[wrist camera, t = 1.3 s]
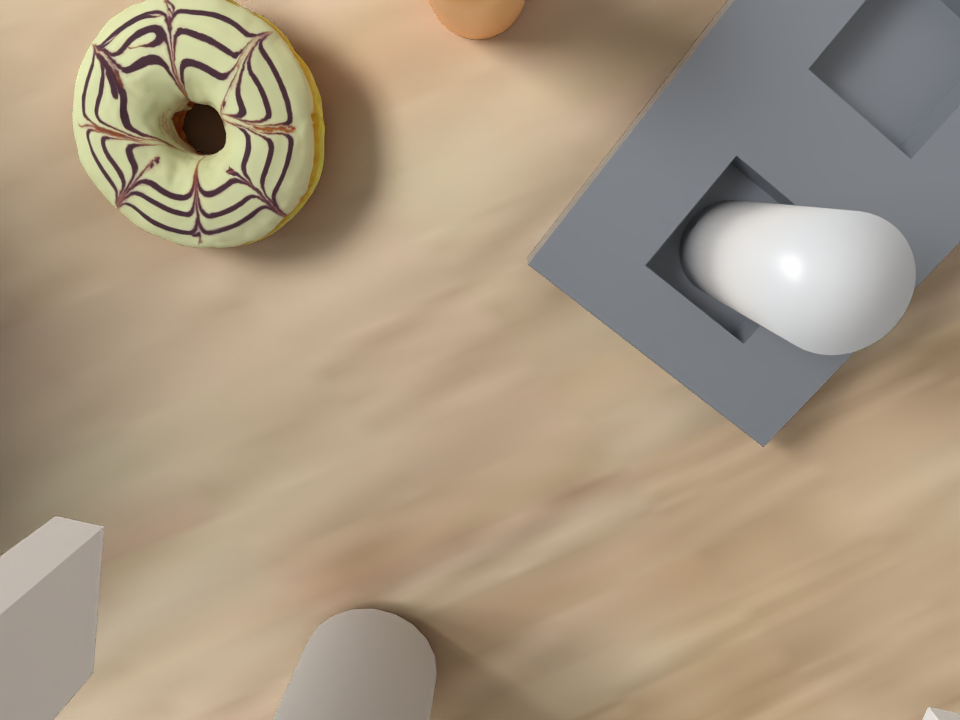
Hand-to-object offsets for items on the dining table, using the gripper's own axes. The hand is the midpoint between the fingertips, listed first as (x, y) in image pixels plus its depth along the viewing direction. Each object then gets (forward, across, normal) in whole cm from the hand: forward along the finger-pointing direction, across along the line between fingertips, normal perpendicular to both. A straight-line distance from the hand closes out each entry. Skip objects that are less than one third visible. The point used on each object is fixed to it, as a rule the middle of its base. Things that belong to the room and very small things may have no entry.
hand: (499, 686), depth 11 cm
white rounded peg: (+23, +9, +7) cm, 25 cm away
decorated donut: (+24, -15, +7) cm, 29 cm away
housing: (+24, +11, +11) cm, 28 cm away
